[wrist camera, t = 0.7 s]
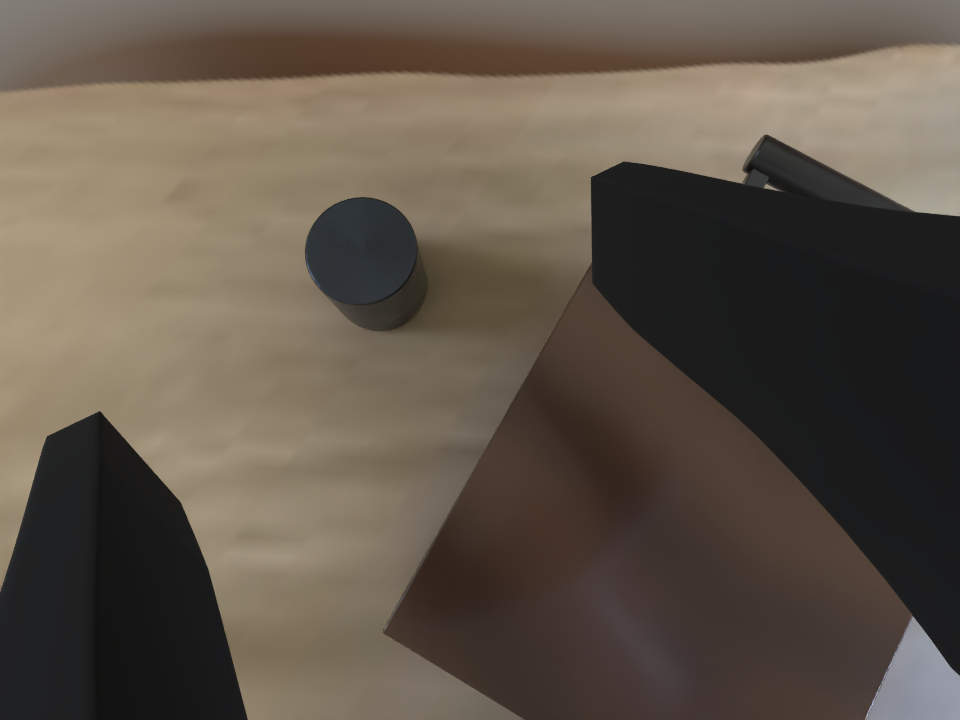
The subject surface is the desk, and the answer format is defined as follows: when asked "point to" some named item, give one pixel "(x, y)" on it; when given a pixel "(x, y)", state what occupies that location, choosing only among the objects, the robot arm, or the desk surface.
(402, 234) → the cylinder
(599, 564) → the cabinet
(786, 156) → the drawer
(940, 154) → the desk surface
